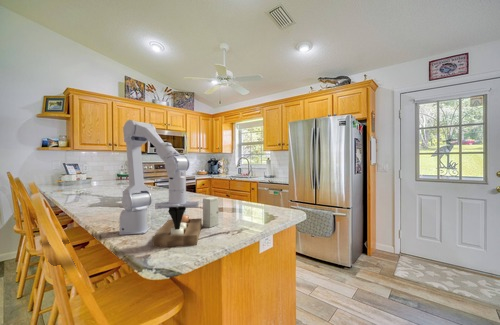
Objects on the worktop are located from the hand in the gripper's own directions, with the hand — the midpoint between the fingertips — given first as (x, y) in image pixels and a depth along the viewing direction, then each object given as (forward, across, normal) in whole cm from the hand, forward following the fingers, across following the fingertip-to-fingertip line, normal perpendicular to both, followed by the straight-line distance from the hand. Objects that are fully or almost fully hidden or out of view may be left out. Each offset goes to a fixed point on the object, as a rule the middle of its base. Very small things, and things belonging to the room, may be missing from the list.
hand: (177, 228), depth 76 cm
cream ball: (+4, 0, +7) cm, 8 cm away
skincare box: (+5, +11, +18) cm, 22 cm away
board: (+4, 0, +7) cm, 8 cm away
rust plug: (+3, 0, +14) cm, 14 cm away
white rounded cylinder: (+4, 0, 0) cm, 4 cm away
